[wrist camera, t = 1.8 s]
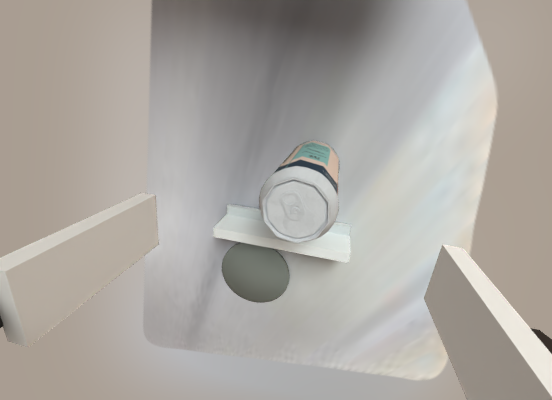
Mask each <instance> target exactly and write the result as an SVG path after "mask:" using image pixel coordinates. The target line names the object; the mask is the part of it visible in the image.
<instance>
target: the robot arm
mask: <svg viewBox="0 0 552 400" xmlns="http://www.w3.org/2000/svg"><path fill="white" fill-rule="evenodd" d="M157 245H159V240H158V225H157V210H156V196H155V195H152V194H146V193H140V194H138V195H136V196H133V197H131V198H129V199H127V200H125V201H123V202H120V203H118V204H116V205H114V206H112V207H110V208H107V209H105V210H103V211H101V212H99V213H97V214H94V215H92V216H90V217H88V218H86V219H84V220H81V221H79V222H77V223H75V224H73V225H71V226H68V227H66V228H64V229H62V230H60V231H58V232H55V233H53V234H51V235H49V236H47V237H45V238H43V239H40V240H38V241H36V242H34V243H31V244H29V245H27V246H25V247H23V248H21V249H18V250H16V251H14V252H12V253H10V254H8V255H6V256H3V257H1V258H0V328H1V327H2V326H3V328H4V331H5V334H6V337H7V340H8V341H9V342H12V343H16V344H19V345H22V346H25V347H29V346H30V345H32V344H33V343H34V342H36V341H37V340H38V339H39V338H41V337H42V336H43V335H44V334H46V333H47V332H48V331H49V330H51V329H52V328H53V327H54V326H56V325H57V324H58V323H60V322H61V321H62V320H63V319H65V318H66V317H67V316H68V315H70V314H71V313H72V312H74V311H75V310H76V309H77V308H79V307H80V306H81V305H82V304H84V303H85V302H86V301H88V300H89V299H90V298H91V297H93V296H94V295H95V294H96V293H98V292H99V291H100V290H101V289H103V288H104V287H105V286H106V285H108V284H109V283H110V282H111V281H113V280H114V279H115V278H117V277H118V276H119V275H120V274H122V273H123V272H124V271H126V270H127V269H128V268H129V267H131V266H132V265H133V264H134V263H136V262H137V261H138V260H139V259H140V258H142V257H143V256H145V255H146V254H147V253H148V252H150V251H151V250H152V249H153V248H155V247H156V246H157ZM424 300H425V302H426V305H427V307H428V309H429V312H430V314H431V316H432V319H433V321H434V323H435V326H436V328H437V330H438V333H439V335H440V337H441V340H442V342H443V344H444V347H445V349H446V352H447V354H448V356H449V359H450V361H451V363H452V366H453V368H454V370H455V373H456V375H457V377H458V380H459V382H460V384H461V387H462V389H463V391H464V394H465V396H466V399H467V400H552V339H550V338H549V337H548V336H546V335H545V334H544V333H543V332H541V331H540V330H536V329H531V328H529V326H528V325H527V324H526V323H525V322H524V321H523V319H522V318H521V317H520V316H519V315H518V314H517V312H516V311H515V310H514V308H512V306H511V305H510V304H509V303H508V302H507V300H506V299H505V298H504V297H503V295H502V294H501V293H500V292H499V291H498V289H497V288H496V287H495V286H494V285H493V283H492V282H491V281H490V280H489V279H488V277H487V276H486V275H485V274H484V273H483V271H482V270H481V269H480V268H479V267H478V266H477V264H476V263H475V262H474V261H473V260H472V258H471V257H470V256H469V255H468V254H467V252H466V251H465V250H464V249H463V248H460V247H454V246H449V245H442V248H441V250H440V253H439V256H438V259H437V262H436V265H435V268H434V271H433V274H432V277H431V279H430V282H429V285H428V288H427V291H426V294H425V297H424Z"/></svg>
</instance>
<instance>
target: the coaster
mask: <svg viewBox="0 0 552 400" xmlns="http://www.w3.org/2000/svg"><path fill="white" fill-rule="evenodd" d="M222 273H223V276H224V279H225V281H226V283H227V284H228V286H229V287H230V288H231V289H232V290H233V291H234V292H235V293H236V294H237V295H239V296H240V297H242V298H244V299H246V300H249V301H253V302H269V301H272V300H275V299H277V298H278V297H280V296H281V295H282V294H283V293H284V291H285V290H286V288H287V285H288V282H289V270H288V266H287V264H286V262H285V260H284V259H283V257H282V256H281V255H280V254H279V253H278V252H277V251H276V250H275V249H273V248H268V247H263V246H258V245H252V244H247V243H239V244H236V245H235V246H233V247H232V248H231V249H230V250H229V251H228V252H227V253H226V255H225V257H224V259H223V262H222Z"/></svg>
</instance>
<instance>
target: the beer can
mask: <svg viewBox="0 0 552 400" xmlns="http://www.w3.org/2000/svg"><path fill="white" fill-rule="evenodd" d="M338 173H339V158H338V156H337V154H336V152H335V151H334V149H333V148H331V147H330V146H329V145H328V144H326V143H323V142H320V141H308V142H305V143H303V144H300V145H299V146H297V147H296V148H295V150H294V151H293V152H292V153H291V154H290V155H289V157H288V158H287V159H286V160H285V161H284V162H283V163H282V164H281V165H280V167H279V168H278V169H277V170H276V171H275V172H274V173H273V174H272V175H271V176H270V177H269V178H268V179H267V180H266V182H265V184H264V186H263V187H262V189H261V193H260V197H259V208H260V211H261V215H262V218H263V219H264V222H265V223H266V224H267V226H268V227H269V228H270V229H271V230H272V231H273V233H274V234H275V235H276V236H277V237H279V238H282V239H285V240H288V241H291V242H294V243H300V242H306V241H311V240H314V239H317V238H319V237H321V236H323V235H324V234H325V233H327V232H328V231H329V230H330V228H331V227H332V226H333V224H334V223H335V221H336V218H337V215H338V211H339V202H338Z"/></svg>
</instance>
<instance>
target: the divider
mask: <svg viewBox="0 0 552 400" xmlns="http://www.w3.org/2000/svg"><path fill="white" fill-rule="evenodd" d="M350 231H351V224H345V223H339V222H335V223H334V224H333V226H332V227H331V228H330V230H329V231H328V232H327V233H325V234H324V235H323V236H321V237H319V238H317V239H314V240H311V241H306V242H300V243H294V242H291V241H288V240H285V239H282V238H279V237H277V236H276V235H275V234H274V233H273V231H272V230H271V229H270V228H269V227H268V226H267V224H266V223H265V222H264V219H263V218H262V215H261V211H260V209H257V208H251V207H245V206H239V205H233V204H228V205H227V214H226V215H225V216H224V217H223V219H222V220H221V221H220V222H219V223H218V224H217V225H216V226H215V227H214V228H213V237H216V238H221V239H227V240H232V241H237V242H242V243H247V244H252V245H258V246H263V247H268V248H273V249H278V250H283V251H289V252H294V253H299V254H304V255H309V256H315V257H320V258H325V259H330V260H335V261H340V262H346V263H349V259H350V254H351V252H350Z"/></svg>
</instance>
